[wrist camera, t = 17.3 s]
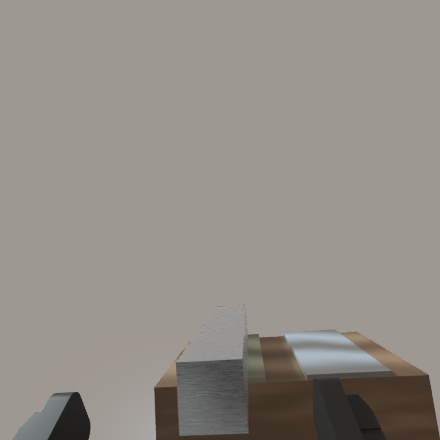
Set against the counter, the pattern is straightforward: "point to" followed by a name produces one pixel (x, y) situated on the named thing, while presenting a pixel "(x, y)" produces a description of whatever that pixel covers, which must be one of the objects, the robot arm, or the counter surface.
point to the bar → (215, 376)
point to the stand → (303, 388)
